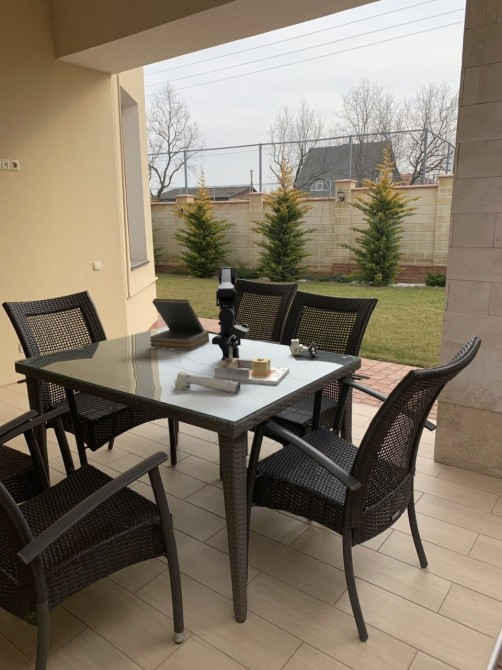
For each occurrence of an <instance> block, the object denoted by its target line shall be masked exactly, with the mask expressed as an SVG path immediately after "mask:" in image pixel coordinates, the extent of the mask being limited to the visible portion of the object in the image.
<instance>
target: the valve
mask: <svg viewBox="0 0 502 670" xmlns="http://www.w3.org/2000/svg"><path fill="white" fill-rule="evenodd" d="M317 346H318V343H317V342H316V343H315V342H311V344H309V347H308V346H305V345H303V344H300V340H299V339H297V338H295V339H291V343H290V349H291V355H294V356H297V355H300V352H303V351H306V352H307V351H308V353H309V356H310V357H314V358H315V355H317V353H318V352H317V350H318V347H317Z"/></svg>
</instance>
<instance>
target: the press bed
mask: <svg viewBox="0 0 502 670" xmlns="http://www.w3.org/2000/svg"><path fill="white" fill-rule="evenodd" d="M253 360H254V359H249V358H247V359H245V358H238V367H237V368H232V367H220V366H218V365H217V366H214V367H213V368H214V369H213V370H214V374H213V375H212V378H214V379H220V380H227V381H230V380H231V381H233V382H238V383H247V384H256V385H257V384H258V385H259V384H260V385H270V386H271V385H272V386H277V385H279V383H280V382H281V381H282V380H283V379H284V378H285V377H286V376H287V374H288V373H290V367H282V366H281V367H280V366H270V372H269V373H268V374H267V375H265V374H252V361H253Z"/></svg>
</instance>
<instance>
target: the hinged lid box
mask: <svg viewBox="0 0 502 670" xmlns="http://www.w3.org/2000/svg"><path fill="white" fill-rule="evenodd" d="M151 302H152V304H153V305H154V307H155V309H156V311H157V312H158V314H159V316H160V317H161V318H162V320H163V322H164V323H165V325H166V326H167V328H168V329H167V330H163V331H161V332H159V333H155V334H153V335H151V336H150V341H149V342H150V347H155V348H154V349H156V348H165V349H164V350H169V349H174V350H173V351H181V350H185V351H184V352H192V351H194V350H195V349H198V348H200V347H202V346H204V345H206V344H208V343H210V336H209V335H210V332H209V331H208V330H205V329H204V327H203V325H202V323H201V322H200V319H199V318H198V316H197V314H196V313H195V310H194V309H193V306H192V305H191V303H190V301H189V300H188V299H179V298H177V299H175V298H153V300H152V301H151Z"/></svg>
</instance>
